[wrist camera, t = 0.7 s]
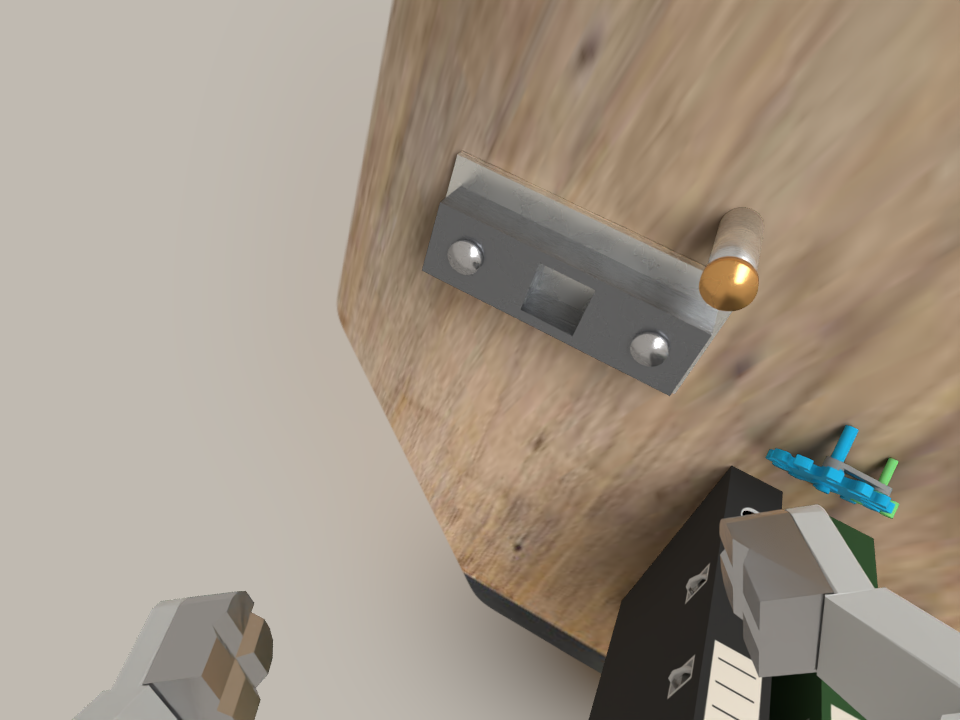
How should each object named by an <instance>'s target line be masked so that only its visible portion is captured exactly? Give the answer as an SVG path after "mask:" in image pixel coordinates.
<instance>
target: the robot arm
mask: <svg viewBox="0 0 960 720" xmlns="http://www.w3.org/2000/svg"><path fill="white" fill-rule="evenodd" d="M719 526H720V538H721V540H722V543H723V545H724V548H725V549H724V551H723V552H722V553H721V554H720V560H721V571H722V576H723V582H724V586H725V590H726V593H727V596H728V599H729V602H730V605H731V607H732V610H733V613H734V614H736V615H737V616H738V617H740V618H741V619H742V620H743V639H744V641H745V644H746V646H747V649H748V651H749V654H750V656H751V659H752V662H753V664H754V667H755V669H756V672H757V674H758V677H770V676H781V675H792V674H803V673H813V672H817V676H818V677H819V678H821V679H822V680H823V681H824V682H825V683H826V684H827V685H828V686H830V687H831V688H832V689H833V690H834V691H835V692H836V693H837V694H839V695H840V696H841V697H842V698H843V699H844V700H845V701H846V702H848V703H849V704H850V705H851V706H852V707H853V708H854V709H855V710H856V711H858V712H859V713H860V714H861V715H862V716H863V717H864V718H865V719H867V720H960V632H958V631H956V630H955V629H953V628H951V627H950V626H948V625H946V624H945V623H943V622H941V621H940V620H938V619H937V618H935V617H933V616H932V615H930V614H928V613H927V612H925V611H923V610H922V609H920V608H918V607H917V606H915V605H913V604H912V603H910V602H908V601H907V600H905V599H903V598H902V597H900V596H899V595H897V594H895V593H894V592H892V591H890V590H889V589H887V588H874V587H873V585H872V583H871V582H870V580H869V579H868V577H867V576H866V574H865V572H864V571H863V569H862V568H861V566H860V564H859V563H858V561H857V560H856V558H855V557H854V555H853V553H852V552H851V550H850V549H849V547H848V546H847V544H846V542H845V541H844V539H843V538H842V536H841V534H840V533H839V531H838V530H837V528H836V527H835V525H834V523H833V522H832V520H831V519H830V517H829V515H828V514H827V512H826V511H825V509H824V508H823V507H821V506H820V505H818V504H816V505H810V506H803V507H796V508H790V509H785V510H783V509H781V510H774V511H768V512H762V513H756V514H749V515H743V516H737V517H731V518H724V519H721V521H720V524H719ZM253 606H254V602H253V601H252V599H251V598H250V596H249V595H248V594H247V592H246V591H237V592H229V593H221V594H213V595H204V596H197V597H188V598H182V599H174V600H166V601H161V602H160V603H159V604H157V605H156V606H155V607H154V608H153V609H152V611H151V612H150V614H149V616H148V618H147V620H146V622H145V624H144V626H143V628H142V630H141V632H140V634H139V636H138V638H137V640H136V642H135V644H134V646H133V648H132V650H131V652H130V654H129V656H128V657H127V659H126V661H125V663H124V666H123V668H122V669H121V671H120V673H119V675H118V677H117V679H116V681H115V683H114V685H113V687H112V689H111V690H107V691H102V692H101V693H100V694H99V695H98V696H97V697H96V698H95V699H94V700H93V701H92V702H91V703H89V704H88V705H87V706H86V707H85V708H84V709H83V710H82V711H81V712H80V713H79V714H77V715H76V716H75V717H74V718H73V719H72V720H254V719H255V716H256V713H257V710H258V706H259V703H260V697H259V695H258V692H257V690H256V687H257V686H258V685H259V684H260V683H261V682H262V680H263V679H264V678H265V677H266V676H267V675H268V672H269V669H270V665H271V662H272V656H273V655H272V654H273V639H272V635H271V631H270V628H269V626H268V625H267V623H266V621H265V620H264V619H263V618H261V617H259V616H257V615H255V614H254V613H252V612H251V611H252V608H253Z"/></svg>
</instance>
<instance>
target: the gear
mask: <svg viewBox="0 0 960 720" xmlns="http://www.w3.org/2000/svg"><path fill="white" fill-rule="evenodd" d="M858 431H859V430H858V429H856V428H854V427H852V426H848V425H846V426H845V428H844V430H843V432H842V434H841V436H840V438H839V441H838V443H837V445H836V447H835V449H834V451H833V453H832V455H831V457H828V456H826V458H825V460H824V462H823V465H822V467H819V466H817V465H814V464H813V462H814V461H813V460H811V459H809V458H806V457H804V456H801V455H799V454H797V455H796V457H795V458H794V457H792V456H791V454H790V453H788V452H786V451H784V450H781V449H777V448H776V449H775V450H772V449H770V450H769V451H768V454H767V456H766V459H768V460H770V461H772V462H773V463H772V464H773V465H774V466H776V467H778V468H781V469H783V470H786V471H789V472H788V473H789V474H790V475H792V476H793V477H795V478H798V479H800V480H805V481H808V482H811V483H813V486H814V487H816V489H818V490H819V491H822V492H824V493H826V494H829V492H834V493H837V494H839V495H840V498H842V499H844V500H846V501H849V502H851V503H853V504H856V503H858V504H861V505H863V506H865V507H866V508H869V509H871V510H874V511H877V512H879V513H880V514H882V515H884V516H886V517H889V518H892V519H893V517H894V514H895V512H896V510H897V508H898V506H899V504H898V503H897V502H895V501H892V500H891V498H890V497H889V496H890V494H891V492H892V488H890V487H888V486H887V485H888V483H889V481H890V479H891V477H892V474H893V472H894V470H895V468H896V466H897V464H898V461H897V460H894V459H892V458H889V459H888V461H887V463H886V465H885V467H884V469H883V472H882V474H881V476H880V478H879V480H878V481H877V480H875V479H873V478H871V477H870V476H868V475H866V474H864V473H862V472H860V471H858V470H856V469H855V468H853V467H851V466H849V465H847V464H845V463H843V462H844V460H845V458H846V456H847V454H848V452H849V450H850V448H851V446H852V443H853V441H854V439H855V437H856V435H857V433H858ZM843 472H844V473H846V474H848V475H850V476H852V477H854V478H856V479H857V480H853V479H849V478H846V477H844V473H843ZM858 480H859V481H858Z"/></svg>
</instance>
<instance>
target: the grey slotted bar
mask: <svg viewBox="0 0 960 720" xmlns="http://www.w3.org/2000/svg"><path fill="white" fill-rule="evenodd" d="M705 267H706V266H704V265H702V264H700V263H698V262H696V261H693V260H691V259H689V258H687V257H685V256H683V255H681V254H679V253H677V252H674V251H672V250H670V249H668V248H666V247H664V246H662V245H660V244H658V243H655V242H653V241H651V240H649V239H647V238H645V237H643V236H641V235H639V234H637V233H634V232H632V231H630V230H628V229H626V228H624V227H622V226H620V225H618V224H615V223H613V222H611V221H609V220H607V219H605V218H603V217H601V216H599V215H596V214H594V213H592V212H590V211H588V210H586V209H584V208H582V207H580V206H578V205H575V204H573V203H571V202H569V201H567V200H565V199H563V198H561V197H559V196H556V195H554V194H552V193H550V192H548V191H546V190H544V189H542V188H540V187H537V186H535V185H533V184H531V183H529V182H527V181H525V180H523V179H521V178H518V177H516V176H514V175H512V174H510V173H508V172H506V171H504V170H502V169H500V168H497V167H495V166H493V165H491V164H489V163H487V162H485V161H483V160H481V159H478V158H476V157H474V156H472V155H470V154H468V153H466V152H464V151H462V152H460V153H459V154H458V155H457V158H456V162H455V166H454V169H453V173H452V177H451V180H450V184H449V188H448V191H447V195H446V198H445V199H444V200H442V201H441V202H440V205H439V209H438V212H437V216H436V220H435V224H434V227H433V231H432V235H431V239H430V242H429V246H428V250H427V254H426V257H425V261H424V265H423V269H422V271H424V272H426V273H428V274H430V275H432V276H434V277H436V278H438V279H440V280H442V281H444V282H446V283H448V284H450V285H452V286H454V287H456V288H458V289H460V290H462V291H463V292H465V293H467V294H469V295H471V296H473V297H475V298H477V299H479V300H481V301H483V302H485V303H487V304H489V305H491V306H493V307H495V308H497V309H499V310H501V311H503V312H505V313H507V314H509V315H511V316H513V317H515V318H517V319H519V320H521V321H523V322H525V323H527V324H529V325H531V326H533V327H535V328H537V329H538V330H540V331H542V332H544V333H546V334H548V335H550V336H552V337H554V338H556V339H558V340H560V341H562V342H564V343H566V344H568V345H570V346H572V347H574V348H576V349H578V350H580V351H582V352H584V353H586V354H588V355H590V356H592V357H594V358H596V359H598V360H600V361H602V362H604V363H606V364H608V365H610V366H612V367H613V368H615V369H617V370H619V371H621V372H623V373H625V374H627V375H629V376H631V377H633V378H635V379H637V380H639V381H641V382H643V383H645V384H647V385H649V386H651V387H653V388H655V389H657V390H659V391H661V392H663V393H665V394H667V395H669V396H670V395H671V394H672V393H674V394H675V393H676V392H677V390H678V389H679V387H680V386H681V384H682V383H683V382H684V380H685V379H686V377H687V376H688V374H689V373H690V371H691V370H692V369H693V367H694V366H695V364H696V363H697V361H698V360H699V359H700V357H701V356H702V354H703V353H704V351H705V350H706V348H707V347H708V346H709V344H710V343H711V341H712V340H713V338H714V337H715V336H716V334H717V333H718V331H719V330H720V328H721V327H722V326H723V324H724V323H725V321H726V320H727V318H728V317H729V315H730V314H731V313H732V311H721V310H717V309H715V308H713V307H711V306H709V305H708V304H707V303H706V302H705V301H704V300H703V298H702V297H701V294H700V291H699V281H700V278H701V274H702V272H703V270H704V268H705Z"/></svg>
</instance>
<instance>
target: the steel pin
mask: <svg viewBox="0 0 960 720" xmlns="http://www.w3.org/2000/svg"><path fill="white" fill-rule="evenodd" d="M763 232H764V222H763V219H762V217H761V216H760V214H759V213H757V212H756V211H754V210H752V209H750V208H736V209H733V210H731V211H729V212H728V213H726V214H725V215H724V217H723V218H722V220H721V222H720V225H719V228H718V232H717V235H716V238H715V242H714V245H713V248H712V252H711V255H710V259H709V262H708V265H707V266H706V267H705V268H704V270H703V272H702V274H701V278H700V281H699V291H700V294H701V297H702V298H703V300H704V301H705V302H706V303H707V304H708V305H709V306H711V307H713V308H715V309H717V310H721V311H736V310H740V309H742V308H744V307H746V306H748V305H749V304H750V303H751V302H752V301H753V300H754V298H755V296H756V294H757V291H758V284H759V277H758V274H757V270H758V263H759V257H760V251H761V245H762V238H763Z"/></svg>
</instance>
